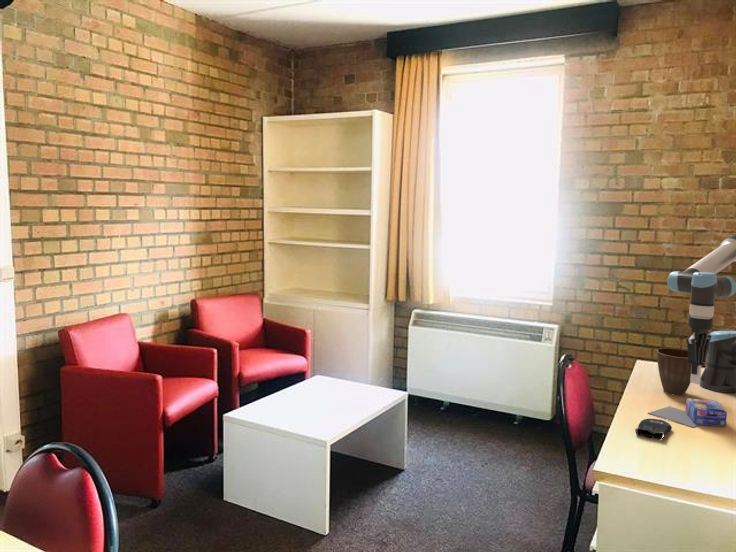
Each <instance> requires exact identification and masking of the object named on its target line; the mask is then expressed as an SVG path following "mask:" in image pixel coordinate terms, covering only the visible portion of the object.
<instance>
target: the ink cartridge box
mask: <svg viewBox="0 0 736 552" xmlns="http://www.w3.org/2000/svg"><path fill="white" fill-rule="evenodd" d="M684 411H685V412H686V414H687V415H688V416H689V417H690V419H691V420H692V421H693V423H694V424H701V425H700V426H702V425H703V426H714V427H722V428H726V425H727V418H728V417H727V416H728V412H727V411H726V410H725V409H724V408H723V406H721V405H720V403H719V402H718V401H717V400H716V401H715V400H707V399H697V398H687V399H686V403H685V409H684Z"/></svg>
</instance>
